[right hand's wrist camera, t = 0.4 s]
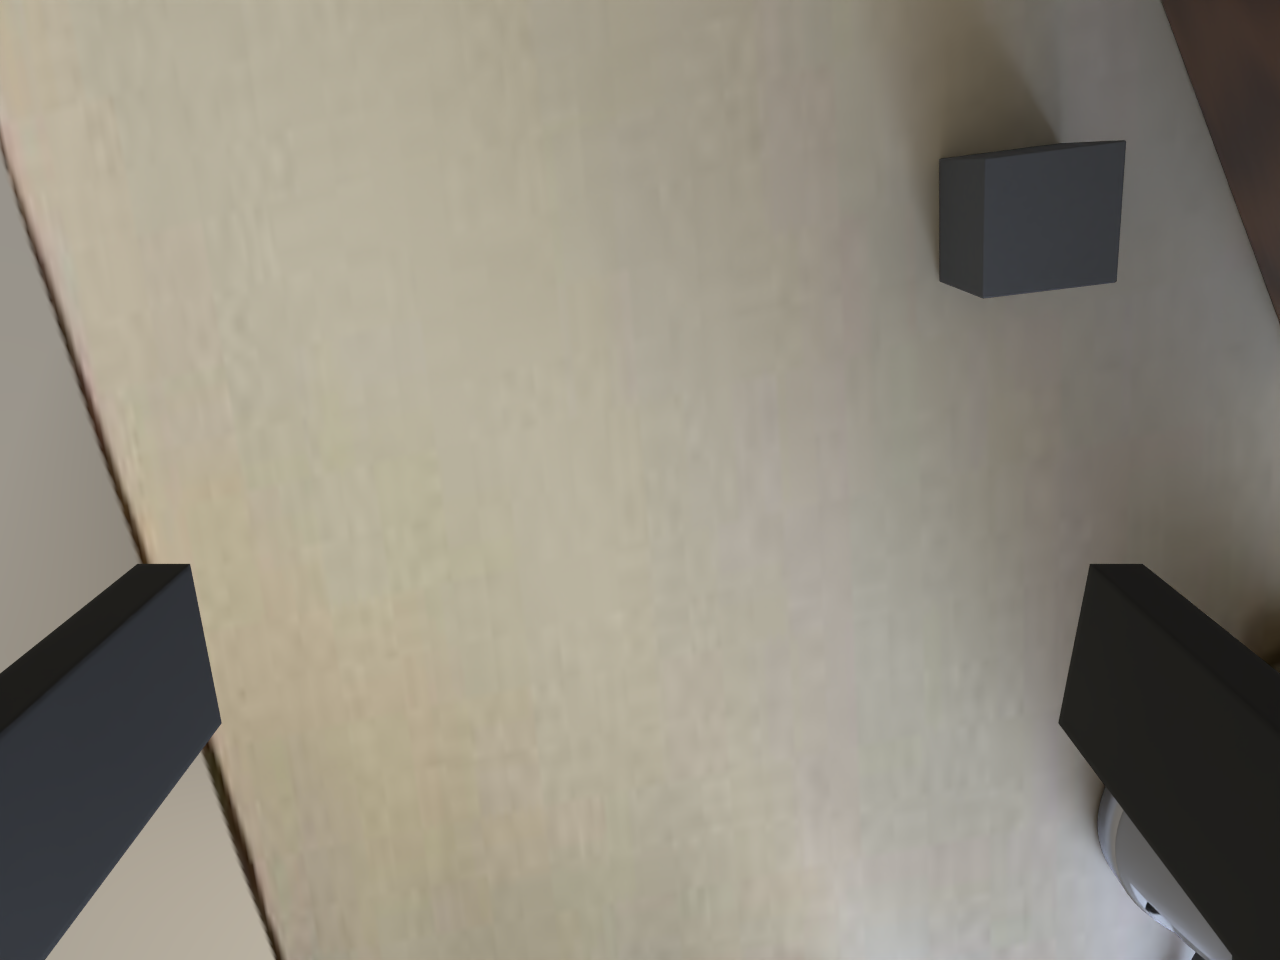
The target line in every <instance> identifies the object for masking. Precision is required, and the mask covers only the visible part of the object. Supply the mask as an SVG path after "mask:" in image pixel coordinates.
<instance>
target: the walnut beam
mask: <svg viewBox="0 0 1280 960" xmlns="http://www.w3.org/2000/svg"><path fill="white" fill-rule="evenodd" d="M1161 1H1162V3H1163V6H1164V9H1165V11H1166V14H1167V17H1168V20H1169V22H1170V25H1171V28H1172V30H1173V33H1174V36H1175V39H1176V41H1177V44H1178V47H1179V49H1180V52H1181V55H1182V58H1183V60H1184V63H1185V66H1186V69H1187V71H1188V74H1189V77H1190V79H1191V82H1192V85H1193V88H1194V90H1195V93H1196V96H1197V98H1198V101H1199V104H1200V107H1201V109H1202V112H1203V115H1204V117H1205V120H1206V123H1207V126H1208V128H1209V131H1210V134H1211V137H1212V139H1213V142H1214V145H1215V147H1216V150H1217V153H1218V156H1219V158H1220V161H1221V164H1222V166H1223V169H1224V172H1225V175H1226V177H1227V180H1228V183H1229V186H1230V188H1231V191H1232V194H1233V196H1234V199H1235V202H1236V205H1237V207H1238V210H1239V213H1240V215H1241V218H1242V221H1243V224H1244V226H1245V229H1246V232H1247V234H1248V237H1249V240H1250V243H1251V245H1252V248H1253V251H1254V254H1255V256H1256V259H1257V262H1258V264H1259V267H1260V270H1261V273H1262V275H1263V278H1264V281H1265V283H1266V286H1267V289H1268V292H1269V294H1270V297H1271V300H1272V302H1273V305H1274V308H1275V311H1276V313H1277V316H1278V319H1279V322H1280V0H1161Z"/></svg>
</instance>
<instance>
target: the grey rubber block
mask: <svg viewBox="0 0 1280 960" xmlns="http://www.w3.org/2000/svg"><path fill="white" fill-rule="evenodd" d="M1125 148H1126V141H1125V140H1120V141H1099V142H1079V143H1060V144H1052V145H1044V146H1036V147H1029V148H1021V149H1013V150H1005V151H997V152H989V153H982V154H974V155H966V156H958V157H950V158H942V159H940V160H939V204H940V282H943V283H945V284H948V285H950V286H953V287H955V288H958V289H961V290H963V291H966V292H968V293H971V294H973V295H976V296H978V297H981V298H991V297H999V296H1007V295H1015V294H1024V293H1032V292H1040V291H1049V290H1057V289H1065V288H1073V287H1082V286H1090V285H1098V284H1106V283H1115V282H1116V281H1117V267H1118V252H1119V237H1120V222H1121V207H1122V192H1123V177H1124V163H1125Z"/></svg>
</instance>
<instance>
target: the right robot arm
mask: <svg viewBox="0 0 1280 960" xmlns="http://www.w3.org/2000/svg"><path fill="white" fill-rule="evenodd" d="M220 725H221V718H220V713H219V708H218V703H217V698H216V692H215V687H214V682H213V677H212V672H211V667H210V662H209V657H208V652H207V647H206V642H205V637H204V632H203V627H202V622H201V617H200V612H199V607H198V602H197V597H196V592H195V587H194V582H193V577H192V572H191V567H190V564H137V565H136V566H134V567H133V568H132V569H131V570H129V571H128V572H127V573H126V574H124V575H123V576H122V577H121V578H119V579H118V580H117V581H116V582H114V583H113V584H112V585H111V586H109V587H108V588H107V589H106V590H104V591H103V592H102V593H101V594H99V595H98V596H97V597H96V598H94V599H93V600H92V601H91V602H89V603H88V604H87V605H86V606H84V607H83V608H82V609H81V610H79V611H78V612H77V613H76V614H74V615H73V616H72V617H71V618H69V619H68V620H67V621H66V622H64V623H63V624H62V625H60V626H59V627H58V628H57V629H55V630H54V631H53V632H52V633H50V634H49V635H48V636H47V637H45V638H44V639H43V640H42V641H40V642H39V643H38V644H37V645H35V646H34V647H33V648H32V649H30V650H29V651H28V652H27V653H25V654H24V655H23V656H22V657H20V658H19V659H18V660H17V661H15V662H14V663H13V664H12V665H10V666H9V667H8V668H7V669H5V670H4V671H3V672H2V673H0V960H45V959H46V958H47V956H48V955H49V954H50V952H51V951H52V950H53V948H54V947H55V945H56V944H57V943H58V942H59V940H60V939H61V937H62V936H63V935H64V933H65V932H66V931H67V929H68V928H69V927H70V925H71V924H72V923H73V921H74V920H75V919H76V917H77V916H78V915H79V913H80V912H81V911H82V909H83V908H84V907H85V905H86V904H87V903H88V901H89V900H90V899H91V897H92V896H93V895H94V893H95V892H96V891H97V889H98V888H99V887H100V885H101V884H102V883H103V881H104V880H105V879H106V877H107V876H108V875H109V873H110V872H111V871H112V869H113V868H114V866H115V865H116V864H117V863H118V861H119V860H120V858H121V857H122V856H123V854H124V853H125V852H126V850H127V849H128V848H129V846H130V845H131V844H132V842H133V841H134V840H135V838H136V837H137V836H138V834H139V833H140V832H141V830H142V829H143V828H144V826H145V825H146V824H147V822H148V821H149V820H150V818H151V817H152V816H153V814H154V813H155V812H156V810H157V809H158V807H159V806H160V805H161V804H162V802H163V801H164V800H165V798H166V797H167V796H168V794H169V793H170V791H171V790H172V789H173V788H174V786H175V785H176V783H177V782H178V781H179V779H180V778H181V777H182V775H183V774H184V773H185V771H186V770H187V769H188V767H189V766H190V765H191V763H192V762H193V761H194V759H195V758H196V757H197V755H198V754H199V753H200V751H201V750H202V749H203V747H204V746H205V745H206V743H207V742H208V741H209V739H210V738H211V737H212V735H213V734H214V733H215V731H216V730H217V729H218V727H219V726H220ZM1059 725H1060V726H1061V727H1062V729H1063V730H1064V731H1065V733H1066V734H1067V735H1068V737H1069V738H1070V739H1071V741H1072V742H1073V743H1074V745H1075V746H1076V747H1077V749H1078V750H1079V751H1080V753H1081V754H1082V755H1083V757H1084V758H1085V759H1086V761H1087V762H1088V763H1089V765H1090V766H1091V767H1092V769H1093V770H1094V771H1095V773H1096V774H1097V775H1098V777H1099V778H1100V779H1101V781H1102V782H1103V783H1104V785H1105V786H1106V788H1107V789H1108V790H1109V792H1110V793H1111V794H1112V796H1113V797H1114V798H1115V800H1116V801H1117V802H1118V804H1119V805H1120V806H1121V808H1122V809H1123V810H1124V812H1125V813H1126V814H1127V816H1128V817H1129V818H1130V820H1131V821H1132V822H1133V824H1134V825H1135V826H1136V828H1137V829H1138V830H1139V832H1140V833H1141V834H1142V836H1143V837H1144V838H1145V840H1146V841H1147V842H1148V844H1149V845H1150V846H1151V848H1152V849H1153V850H1154V852H1155V853H1156V854H1157V856H1158V857H1159V858H1160V860H1161V861H1162V863H1163V864H1164V865H1165V867H1166V868H1167V869H1168V871H1169V872H1170V873H1171V875H1172V876H1173V877H1174V879H1175V880H1176V881H1177V883H1178V884H1179V885H1180V887H1181V888H1182V889H1183V891H1184V892H1185V893H1186V895H1187V896H1188V897H1189V899H1190V900H1191V901H1192V903H1193V904H1194V905H1195V907H1196V908H1197V909H1198V911H1199V912H1200V913H1201V915H1202V916H1203V917H1204V919H1205V920H1206V921H1207V923H1208V924H1209V925H1210V927H1211V928H1212V929H1213V931H1214V932H1215V933H1216V935H1217V936H1218V938H1219V939H1220V940H1221V942H1222V943H1223V944H1224V946H1225V947H1226V948H1227V950H1228V951H1229V952H1230V954H1231V955H1232V956H1233V958H1234V959H1235V960H1280V673H1278V672H1277V671H1276V670H1275V669H1273V668H1272V667H1271V666H1270V665H1268V664H1267V663H1266V662H1265V661H1263V660H1262V659H1261V658H1260V657H1258V656H1257V655H1256V654H1255V653H1253V652H1252V651H1251V650H1250V649H1248V648H1247V647H1246V646H1245V645H1243V644H1242V643H1241V642H1240V641H1238V640H1237V639H1236V638H1235V637H1233V636H1232V635H1231V634H1230V633H1228V632H1227V631H1226V630H1225V629H1223V628H1222V627H1221V626H1220V625H1218V624H1217V623H1216V622H1215V621H1213V620H1212V619H1211V618H1210V617H1208V616H1207V615H1206V614H1205V613H1203V612H1202V611H1201V610H1199V609H1198V608H1197V607H1196V606H1194V605H1193V604H1192V603H1191V602H1189V601H1188V600H1187V599H1186V598H1184V597H1183V596H1182V595H1181V594H1179V593H1178V592H1177V591H1176V590H1174V589H1173V588H1172V587H1171V586H1169V585H1168V584H1167V583H1166V582H1164V581H1163V580H1162V579H1161V578H1159V577H1158V576H1157V575H1156V574H1154V573H1153V572H1152V571H1151V570H1149V569H1148V568H1147V567H1146V566H1144V565H1143V564H1090V567H1089V572H1088V577H1087V582H1086V587H1085V592H1084V597H1083V602H1082V607H1081V612H1080V617H1079V622H1078V627H1077V632H1076V637H1075V642H1074V647H1073V652H1072V657H1071V662H1070V667H1069V672H1068V677H1067V682H1066V687H1065V692H1064V698H1063V703H1062V708H1061V713H1060V718H1059Z"/></svg>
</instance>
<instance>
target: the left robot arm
mask: <svg viewBox="0 0 1280 960" xmlns="http://www.w3.org/2000/svg"><path fill="white" fill-rule="evenodd" d="M1098 836H1099V842H1100V846H1101V849H1102V852H1103V855H1104V857H1105V859H1106V861H1107V863H1108V865H1109V866H1110V868H1111V870H1112V871H1113V873H1114V874H1115V876H1116V877H1117V879H1118V880H1119V882H1120V883H1121V885H1122V886H1123V888H1124V889H1125V891H1126V892H1127V894H1128V895H1129V896H1130V897H1131V899H1132V900H1133V901H1134V902H1135V903H1136V904H1137V905H1138V906H1139V907H1140V908H1141V909H1142V910H1143V911H1144V912H1145V913H1147V914H1148V915H1149V916H1151V917H1152V918H1153V919H1154V920H1156V921H1157V922H1158V923H1160V924H1161V925H1162V926H1164V927H1165V928H1167V929H1168V930H1170V931H1172V932H1174V933H1176V934H1177V935H1178V936H1179V937H1180V938H1181V939H1182V940H1183V941H1184V942H1185V943H1186V944H1187V945H1188V946H1189V947H1191V948H1192V949H1193V950H1194V951H1195V952H1196V953H1195V954H1194V956H1193V958H1192V960H1235V959H1234V958H1233V956H1232V955H1231V954H1230V952H1229V951H1228V950H1227V948H1226V947H1225V946H1224V944H1223V943H1222V942H1221V940H1220V939H1219V938H1218V936H1217V935H1216V933H1215V932H1214V931H1213V929H1212V928H1211V927H1210V925H1209V924H1208V923H1207V921H1206V920H1205V919H1204V917H1203V916H1202V915H1201V913H1200V912H1199V911H1198V909H1197V908H1196V907H1195V905H1194V904H1193V903H1192V901H1191V900H1190V899H1189V897H1188V896H1187V895H1186V893H1185V892H1184V891H1183V889H1182V888H1181V887H1180V885H1179V884H1178V883H1177V881H1176V880H1175V879H1174V877H1173V876H1172V875H1171V873H1170V872H1169V871H1168V869H1167V868H1166V867H1165V865H1164V864H1163V863H1162V861H1161V860H1160V858H1159V857H1158V856H1157V854H1156V853H1155V852H1154V850H1153V849H1152V848H1151V846H1150V845H1149V844H1148V842H1147V841H1146V840H1145V838H1144V837H1143V836H1142V834H1141V833H1140V832H1139V830H1138V829H1137V828H1136V826H1135V825H1134V824H1133V822H1132V821H1131V820H1130V818H1129V817H1128V816H1127V814H1126V813H1125V812H1124V810H1123V809H1122V808H1121V806H1120V805H1119V804H1118V802H1117V801H1116V800H1115V798H1114V797H1113V796H1112V794H1111V793H1110V792H1109V790H1108V789H1107V788H1106V787H1105V790H1104V792H1103V795H1102V798H1101V802H1100V807H1099V813H1098Z"/></svg>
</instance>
